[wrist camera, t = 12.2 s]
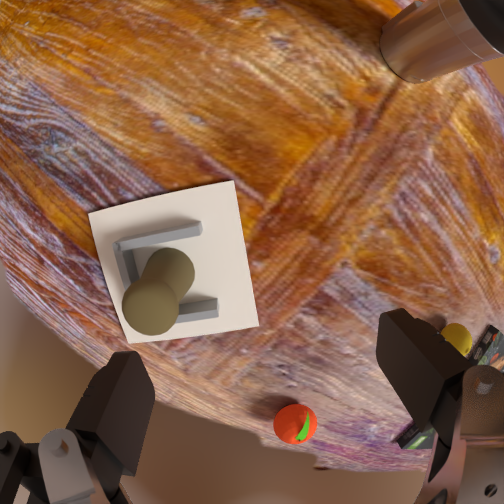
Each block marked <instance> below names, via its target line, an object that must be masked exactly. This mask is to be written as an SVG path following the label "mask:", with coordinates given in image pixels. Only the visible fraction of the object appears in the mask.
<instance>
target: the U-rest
mask: <svg viewBox="0 0 504 504" xmlns="http://www.w3.org/2000/svg"><path fill="white" fill-rule="evenodd" d="M88 215H89V220H90V224H91V229H92V233H93V237H94V241H95V245H96V248H97V252H98V256H99V259H100V263H101V266H102V270H103V273H104V276H105V280H106V283H107V286H108V289H109V292H110V295H111V298H112V301H113V304H114V306H115V309H116V312H117V315H118V317H119V320H120V323H121V325H122V328H123V330H124V333H125V335H126V338H127V340H128V343H140V342H150V341H160V340H169V339H177V338H185V337H193V336H200V335H207V334H214V333H220V332H227V331H233V330H239V329H245V328H250V327H256V326H259V322H258V317H257V311H256V306H255V300H254V294H253V289H252V283H251V277H250V272H249V266H248V260H247V255H246V249H245V243H244V238H243V232H242V226H241V220H240V215H239V209H238V203H237V197H236V191H235V186H234V180H232V181H227V182H221V183H216V184H211V185H205V186H200V187H195V188H190V189H186V190H181V191H176V192H172V193H167V194H163V195H158V196H154V197H150V198H146V199H141V200H137V201H133V202H129V203H125V204H122V205H118V206H114V207H110V208H107V209H103V210H99V211H96V212H92V213H89V214H88ZM167 247H168V248H176V249H178V250H180V251H182V252H184V253H185V254H186V255H187V256H188V257H189V258H190V260H191V261H192V263H193V265H194V269H195V279H194V282H193V284H192V286H191V287H190V289H189V290H188V291H187V293H186V294H185V295H184V297H183V298H182V299H181V301H180V302H179V314H178V317H177V320H176V322H175V324H174V325H173V326H172V327H171V328H170V329H169V330H168V331H167V332H165V333H163V334H161V335H155V336H149V335H143V334H141V333H139V332H137V331H135V330H134V329H133V328H132V327H130V326H129V324H128V323H127V321H126V320H125V318H124V315H123V312H122V299H123V296H124V292H125V291H126V290H127V288H128V287H129V286H130V285H131V284H132V283H133V282H135V281H137V280H139V279H140V277H141V275H142V273H143V270H144V268H145V266H146V263H147V261H148V259H149V258H150V256H151V255H152V254H153V253H154V252H156V251H157V250H159V249H162V248H167Z"/></svg>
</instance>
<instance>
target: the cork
mask: <svg viewBox="0 0 504 504" xmlns="http://www.w3.org/2000/svg"><path fill="white" fill-rule="evenodd" d="M194 279H195V269H194V265H193V263H192V261H191V260H190V258H189V257H188V256H187V255H186V254H185V253H184V252H182V251H180V250H178V249H176V248H168V247H167V248H162V249H159V250H157V251H156V252H154V253H153V254H152V255H151V256H150V258H149V259H148V261H147V263H146V266H145V268H144V270H143V273H142V275H141V277H140V279H139V280H137V281H135V282H133V283H132V284H131V285H130V286H129V287H128V288H127V290H126V291H125V292H124V296H123V299H122V312H123V315H124V318H125V320H126V321H127V323H128V324H129V326H130V327H132V328H133V329H134V330H135V331H137V332H139V333H141V334H143V335H149V336H155V335H161V334H163V333H165V332H167V331H168V330H169V329H170V328H171V327H172V326H173V325H174V324H175V322H176V320H177V317H178V314H179V302H180V301H181V299H182V298H183V297H184V295H185V294H186V293H187V291H188V290H189V289H190V287H191V286H192V284H193V282H194Z"/></svg>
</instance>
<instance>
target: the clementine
mask: <svg viewBox="0 0 504 504" xmlns="http://www.w3.org/2000/svg"><path fill="white" fill-rule="evenodd" d="M273 426H274V431H275V434H276V435H277V436H278V437H279V439H281V440H282V441H284V442H286V443H289V444H299V443H303V442H305V441H307V440H308V439H309V438H311V437H312V436H313V434H314V433H315V431H316V428H317V418H316V416H315V414H314V412H313V411H312V410H311V409H310V408H308V407H307V406H304V405H301V404H292V405H288V406H286V407H284V408H282V409H281V410H280V411H279V412H278V413H277V415H276V416H275V419H274V422H273Z"/></svg>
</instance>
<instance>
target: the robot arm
mask: <svg viewBox="0 0 504 504" xmlns="http://www.w3.org/2000/svg"><path fill="white" fill-rule="evenodd" d="M381 28H382V31H383V33H382V36H381V38H380V49H381V52H382V55H383V57H384V59H385V61H386V62H387V64H388V65H389V67H390V68H391V69H392V70H393V71H394V72H395V73H396V74H397V75H398V76H400V77H401V78H403V79H404V80H406V81H408V82H411V83H423V82H425V81H429V80H432V79H433V78H436V77H439V76H442V75H445V74H448V73H451V72H453V71H456V70H459V69H462V68H466V67H469V66H472V65H475V64H478V63H482V62H485V61H489V60H492V59H496V58H499V57H503V56H504V0H427V1H426V2H424V3H422V2H420V1H414V2H413V3H411V4H410V5H409V6H407V7H406V8H405V9H404V10H402V11H401V12H400V13H398V14H397V15H396V16H395V17H393V18H392V19H391V20H390V21H389V22H387V23H386V24H385V25H384V26H382V27H381ZM376 357H377V362H378V365H379V367H380V368H381V370H382V371H383V373H384V374H385V376H386V377H387V379H388V381H389V382H390V384H391V385H392V387H393V388H394V390H395V391H396V393H397V395H398V396H399V398H400V399H401V401H402V403H403V404H404V406H405V407H406V409H407V411H408V412H409V414H410V415H411V417H412V419H413V420H414V422H415V424H416V425H417V427H418V429H419V430H420V432H421V433H424V432H426V431H428V430H430V429H432V428H434V429H435V430H436V432H437V434H436V436H435V438H434V443H433V447H432V452H431V456H430V460H429V464H428V468H427V472H426V475H425V479H424V482H423V486H422V488H421V490H420V492H419V494H418V496H417V498H416V499H415V501H414V503H413V504H504V372H503V373H501V372H500V371H499V370H498V369H496V368H495V367H492V366H490V365H484V364H483V365H476V366H473V365H472V364H471V363H470V362H469V361H468V360H467V359H466V358H465V357H464V356H463V355H462V354H461V353H460V352H459V351H458V350H457V349H456V348H455V347H454V346H453V345H452V344H451V343H450V342H449V341H446V338H445V337H444V336H443V335H442V334H439V332H438V331H437V330H436V329H435V328H434V327H433V326H432V325H431V324H429V323H427V322H425V321H423V320H421V319H419V318H416V319H414V318H413V317H412V316H411V315H410V314H409V313H408V312H407V311H406V310H405V309H404V308H399V309H395V310H392V311H388V312H384V313H382V314H381V315H380V318H379V327H378V337H377V346H376ZM154 401H155V390H154V386H153V383H152V381H151V379H150V377H149V375H148V373H147V371H146V368H145V366H144V364H143V362H142V359H141V357H140V355H139V354H138V352H136V351H122V352H114V353H113V355H112V356H111V358H110V360H109V362H108V364H107V365H106V366H103V367H102V368H101V369H100V370H99V371H98V372H97V373H96V374H95V375H94V376H93V378H92V380H91V381H90V383H89V385H88V388H87V389H86V390H85V392H84V394H83V397H81V399H80V401H79V403H78V405H77V407H76V409H75V411H74V413H73V415H72V416H71V418H70V420H69V422H68V424H67V426H66V428H65V429H55V430H53V431H50V432H49V433H47V434H46V435H45V436H44V437H43V438H42V440H41V442H40V443H27V444H26V443H24V442H23V441H22V440H21V439H20V438H19V437H18V436H17V434H16V433H14V432H11V431H6V432H3V433H1V434H0V504H13V502H14V499H15V496H16V493H17V491H18V488H19V485H20V484H21V485H22V486H23V487H25V488H26V489H27V490H28V491H30V495H29V498H28V502H27V504H133V502H132V501H131V500H130V497H129V496H128V494H127V492H126V490H125V488H124V487H123V485H122V484H121V483H120V478H121V475H128V476H135V474H136V470H137V466H138V462H139V458H140V454H141V450H142V446H143V442H144V438H145V434H146V431H147V427H148V423H149V419H150V416H151V412H152V408H153V405H154Z"/></svg>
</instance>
